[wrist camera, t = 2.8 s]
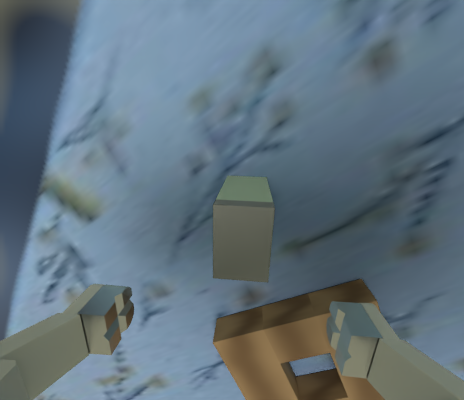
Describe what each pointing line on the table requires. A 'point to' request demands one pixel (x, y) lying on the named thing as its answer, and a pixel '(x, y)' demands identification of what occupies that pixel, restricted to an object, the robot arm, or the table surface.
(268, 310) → the walnut slot block
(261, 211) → the keyed peg
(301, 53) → the table surface
